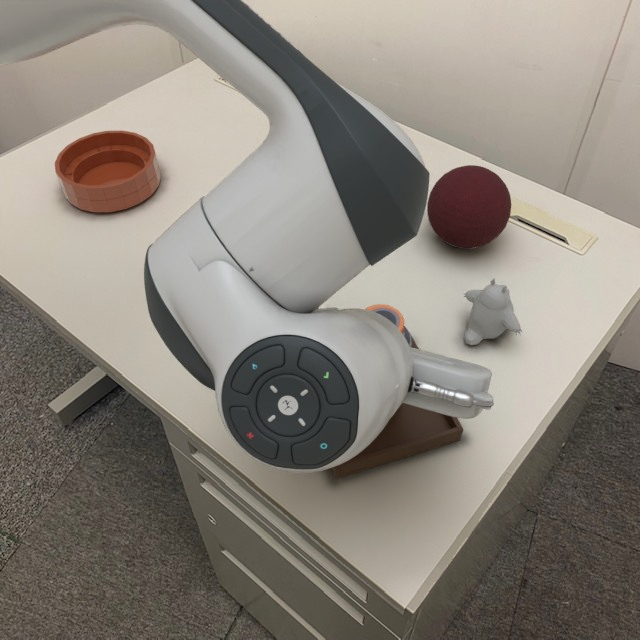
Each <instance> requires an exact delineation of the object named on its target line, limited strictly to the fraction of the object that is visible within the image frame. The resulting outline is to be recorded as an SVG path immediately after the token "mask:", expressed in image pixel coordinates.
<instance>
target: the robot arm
mask: <svg viewBox="0 0 640 640" xmlns="http://www.w3.org/2000/svg"><path fill="white" fill-rule="evenodd" d="M136 25H140V26H149V27H153V28H157V29H159V30H162V31H163V32H165V33H166V34H168V35H170V37H173V38H174V39H175V40H176V41H177V42H178V43H180V44H181V45H182V46H183V47H184V48H185V49H187V50H188V51H189V52H190V53H192V54H193V55H194V56H195V57H196V58H197V59H198V60H200V61H201V62H202V63H204V65H206V66H207V67H208V68H209V69H211V70H212V71H213V72H215V74H216V75H218V76H219V77H220V78H222V79H223V80H224V81H225V82H226V83H228V85H230V86H231V87H232V88H234V89H235V90H236V91H237V92H238V93H240V94H241V95H242V96H243V97H244V98H245V99H246V100H248V101H249V102H250V103H251V104H253V105H254V106H255V107H256V108H257V109H258V110H259V111H260V112H262V113H263V114H264V115H265V117H267V119H268V122H269V129H268V133H267V135H266V137H265V139H264V140H263V141H262V143H261V144H260V145H259V146H258V147H257V148H255V150H254V151H252V153H250V154H249V155H248V156H247V157H246V158H245V159H244V160H242V161H241V162H240V163H239V164H238V165H236V167H235V168H234V169H233V170H232V171H230V173H228V174H227V175H226V176H225V177H224V178H223V179H222V180H221V181H220V182H219V183H218V184H216V186H214V187H213V188H212V189H211V190H210V191H209V192H207V194H206V195H204V196H202V197H200V198H199V199H198V200H197V201H196V202H195V203H194V204H192V205H191V206H190V207H189V208H188V209H187V210H186V211H185V212H184V213H182V215H180V216H179V217H178V218H177V219H176V220H175V221H174V222H173V223H172V224H171V225H170V226H169V227H168V228H166V230H164V231H163V233H161V234H160V235H159V236H158V237H157V238H156V240H155V241H154V242H153V243H151V244H150V245H148V247H147V250H146V253H145V257H144V265H143V284H144V285H143V286H144V293H145V300H146V305H147V310H148V314H149V317H150V320H151V323H152V325H153V326H154V329H155V330H156V332H157V334H158V335H159V337H160V339H161V340H162V341H163V343H164V344H165V346H166V348H167V349H168V350H169V352H170V353H171V354H172V355H173V357H174V358H175V359H176V360H177V362H178V363H179V364H181V366H182V367H183V368H184V369H185V370H186V371H187V372H188V373H189V374H190V375H191V376H192V377H193V378H195V379H196V381H197V382H199V383H200V384H202V385H203V386H204V387H206V388H207V389H210V390H212V391H214V393H215V401H216V406H217V411H218V414H219V417H220V419H221V422H222V424H223V425H224V428H225V429H226V431H227V433H228V435H229V436H230V437H231V438H232V440H233V441H234V442H235V444H236V446H238V447H239V448H240V449H241V450H242V451H243V452H244V453H245V454H246V455H248V456H249V457H250V458H252V459H253V460H255V461H256V462H258V463H260V464H262V465H264V466H267V467H269V468H272V469H276V470H279V471H283V472H289V473H294V474H295V473H296V474H308V473H309V474H311V473H316V472H322V471H325V470H328V469H331V468H332V467H335V466H337V465H340V464H342V463H344V462H346V461H348V460H350V459H352V458H353V457H355V456H356V455H358V454H359V453H360V452H362V451H363V450H364V449H365V448H366V447H367V446H368V445H370V444H371V442H372V441H373V440H374V439H375V438H376V437H377V436H378V435H379V434H380V432H381V431H382V430H383V429H384V427H385V426H386V424H387V423H388V421H389V420H390V418H391V417H392V416H393V415H394V414H395V412H396V411H397V409H398V408H399V407H400V405H401V404H402V403H405V404H409V405H412V406H416V407H419V408H423V409H426V410H430V411H434V412H437V413H441V414H444V415H448V416H452V417H457V418H458V419H463V420H471V419H474V418H476V417H478V416H479V415H480V414H482V412H483V410H488V411H489V410H491V409H492V407H493V406H494V395H492V394H491V393H490V392H489V388H490V384H491V380H492V376H493V371H492V370H491V369H489V368H487V367H485V366H484V365H480V364H476V363H472V362H469V361H465V360H461V359H458V358H454V357H450V356H446V355H443V354H440V353H439V354H438V353H436V352H435V353H434V352H432V351H431V352H430V351H427V350H423V349H420V348H419V349H416V348H412V347H409V344H408V342H407V340H406V338H405V337H404V335H403V334H402V332H401V331H400V330H399V329H398V328H397V327H396V325H394V324H393V323H392V322H391V321H390V320H388V319H387V318H385V317H384V316H382V315H380V314H378V313H376V312H373V311H370V310H365V309H366V308H342V309H339V308H338V307H323V308H319V307H321V306H322V305H323V304H324V303H326V302H327V301H328V300H329V299H331V298H332V297H333V296H334V295H335V294H336V293H338V292H339V291H341V289H343V288H344V287H345V286H346V285H347V284H349V283H350V282H351V281H352V280H353V279H355V278H356V277H357V276H358V275H359V274H361V273H362V272H363V271H364V270H366V269H367V268H368V267H369V266H371V267H374V266H375V265H376V264H378V263H379V262H380V261H382V260H383V259H385V258H386V257H387V256H390V255H391V254H392V253H393V252H395V251H397V250H398V249H399V248H401V247H403V246H404V245H406V244H407V243H408V242H410V241H411V240H413V239H414V238H416V237H417V236H418V233H419V231H420V227H421V224H422V222H423V220H424V219H423V218H424V215H425V212H426V207H427V203H428V198H429V188H430V173H431V172H430V171H429V170H428V169H427V168H426V165H425V162H424V159H423V157H422V155H421V154H420V152H419V149H418V148H417V146H416V145H415V143H414V142H413V141H412V139H411V137H410V136H409V135H408V134H407V132H405V131H404V130H403V128H402V127H401V126H400V125H399V124H398V123H397V122H395V121H394V120H393V119H392V118H391V117H390V116H389V115H388V114H386V113H385V112H384V111H382V110H381V109H380V108H378V107H377V106H375V105H374V104H373V103H371V102H370V101H368V100H366V99H365V98H363V97H362V96H360V95H358V94H357V93H355V92H353V91H351V90H350V89H348V88H346V87H345V86H343V85H342V84H340V83H338V82H337V81H335V80H333V78H331V77H330V76H328V74H327V73H325V72H324V71H323V70H322V69H320V68H319V67H318V66H317V65H316V64H315V63H314V62H312V61H311V60H310V59H309V58H308V57H307V56H306V55H304V53H303V52H302V51H300V49H299V48H298V47H296V46H295V45H294V44H293V43H292V42H291V41H290V40H289V39H287V38H286V37H285V35H283V34H282V33H281V32H280V31H279V30H278V29H276V28H275V27H274V26H272V24H270V23H269V22H268V21H266V20H265V19H264V18H263V17H262V16H261V15H259V13H258V12H257V11H255V10H254V9H253V8H252V7H251V6H250V5H249V4H247V3H246V2H245V1H244V0H0V66H6V65H12V64H17V63H21V62H25V61H29V60H33V59H36V58H39V57H43V56H45V55H47V54H50V53H52V52H54V51H57V50H58V49H62V48H63V47H66V46H68V45H70V44H73V43H75V42H78V41H80V40H83V39H85V38H87V37H90V36H92V35H95V34H98V33H101V32H104V31H108V30H112V29H115V28H121V27H126V26H136Z"/></svg>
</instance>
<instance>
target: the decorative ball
mask: <svg viewBox="0 0 640 640" xmlns="http://www.w3.org/2000/svg"><path fill="white" fill-rule="evenodd" d="M429 192H430V193H429V195H428V198H427V202H426V207H427V210H426V211H427V218H428V222H429V225H430V226H431V228H432V230H433V232H434V233H435V235H436V236H437V237H439V239H441V240H442V241H443V242H444V243H446V244H448V245H449V246H452V247H456V248H459V249H466V250H467V249H468V250H469V249H477V248H481V247H484V246H485V245H488V244H491V242H493V241H494V240H495V239H497V237H498V238H499V236H500V235H501V234H502V232H503V231H504V230H505V228H506V227H507V225H508V223H509V220H510V217H511V213H512V212H511V211H512V198H511V193H510V191H509V187H508V186H507V184H506V183H505V182H504V180H503V179H502V178H501V177H500V175H498V174H497V173H496V172H494V171H493V170H491V169H489V168H487V167H484V166H481V165H474V164H469V165H468V164H467V165H462V166H457V167H454V168H453V169H451V170H449V171H448V172H446V173H444V174H443V175H442V176H441V177H440V178H439V179H437V181H436V182H435V184H434V185H433V187H432V189H431V190H430V191H429Z"/></svg>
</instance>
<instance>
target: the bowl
mask: <svg viewBox="0 0 640 640" xmlns="http://www.w3.org/2000/svg"><path fill="white" fill-rule="evenodd" d="M54 172H55V175H56V177H57V180H58V182H59V185H60V187H61V190H62V193H63V195H64V197H65V198H66V200H67V201H68V202H69V203H70V205H72V206H74V207H76V208H78V209H79V210H82V211H86V212H91V213H113V212H119V211H122V210H127V209H129V208H131V207H134V206H137V205H140V204H142V202H144V201H145V200H147V199H148V198H150V197H151V196H152V195H153V194H154V192H155V191H156V190H157V189H158V188H159V186H160V182H161V178H162V174H161V171H160V166H159V161H158V158H157V154H156V150H155V146H154V144H153V142H151V141H150V140H149V139H148V138H147V137H146V136H144V135H142V134H140V133H137V132H134V131H128V130H104V131H103V130H102V131H98V132H93V133H89V134H87V135H85V136H81V137H79V138H76V140H74V141H72V142H71V143H69V144H67V145H66V146H65V147H64V148H63V149H62V150H61V151H60V152H59V153H58V154H57V157H56V159H55V161H54Z"/></svg>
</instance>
